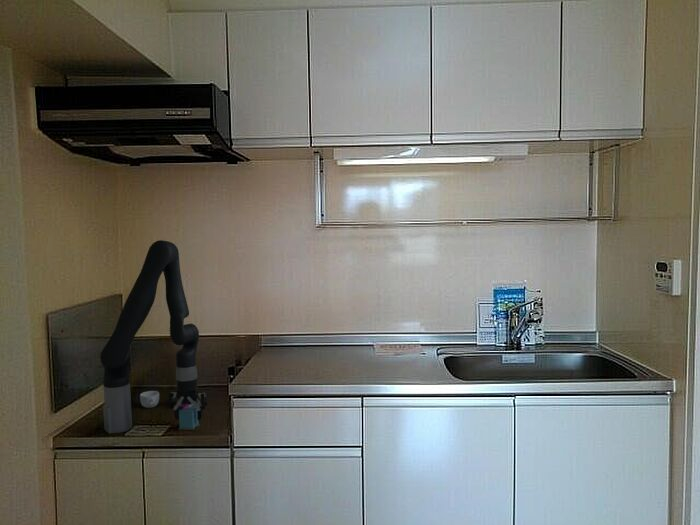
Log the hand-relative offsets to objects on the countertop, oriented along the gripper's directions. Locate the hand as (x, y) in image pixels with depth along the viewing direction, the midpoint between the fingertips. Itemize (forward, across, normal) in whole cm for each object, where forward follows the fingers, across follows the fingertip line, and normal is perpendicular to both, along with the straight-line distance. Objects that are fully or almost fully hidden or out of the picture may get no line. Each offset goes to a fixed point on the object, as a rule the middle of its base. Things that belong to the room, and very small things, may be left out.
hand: (188, 419), depth 219 cm
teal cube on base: (+3, 0, 0) cm, 3 cm away
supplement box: (+3, +11, -23) cm, 26 cm away
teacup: (+3, +26, -22) cm, 34 cm away
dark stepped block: (+3, 0, 0) cm, 3 cm away
